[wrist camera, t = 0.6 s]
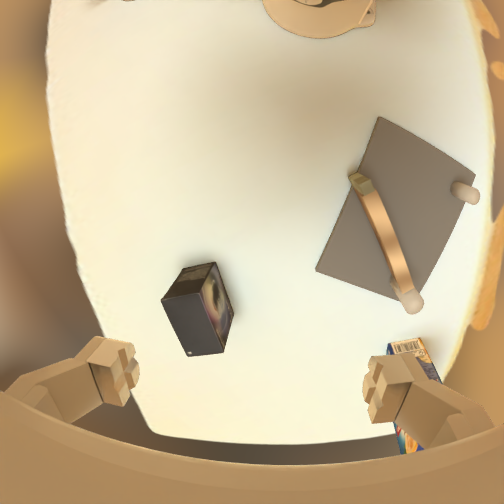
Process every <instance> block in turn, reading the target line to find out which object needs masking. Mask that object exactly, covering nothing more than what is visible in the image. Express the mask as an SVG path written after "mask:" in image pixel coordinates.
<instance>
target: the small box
mask: <svg viewBox="0 0 504 504" xmlns="http://www.w3.org/2000/svg"><path fill="white" fill-rule="evenodd" d="M161 303H162V305H163V307H164V310H165V312H166V314H167V316H168V318H169V320H170V323H171V325H172V327H173V329H174V331H175V333H176V335H177V337H178V339H179V341H180V343H181V345H182V347H183V349H184V351H185V353H186V355H187V356H188V357H192V356H201V355H210V354H218V353H224V349H225V345H226V342H227V338H228V334H229V330H230V327H231V323H232V319H233V316H234V313H233V310H232V308H231V305H230V302H229V299H228V296H227V294H226V291H225V288H224V285H223V282H222V279H221V276H220V273H219V270H218V268H217V265H216V262H212V263H207V264H202V265H197V266H193V267H188V268H184V269H182V271H181V273H180V274H179V276H178V277H177V279H176V280H175V281H174V283H173V284H172V286H171V287H170V289H169V290H168V292H167V293H166V294H165V296H164V297H163V298H162V299H161Z"/></svg>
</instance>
